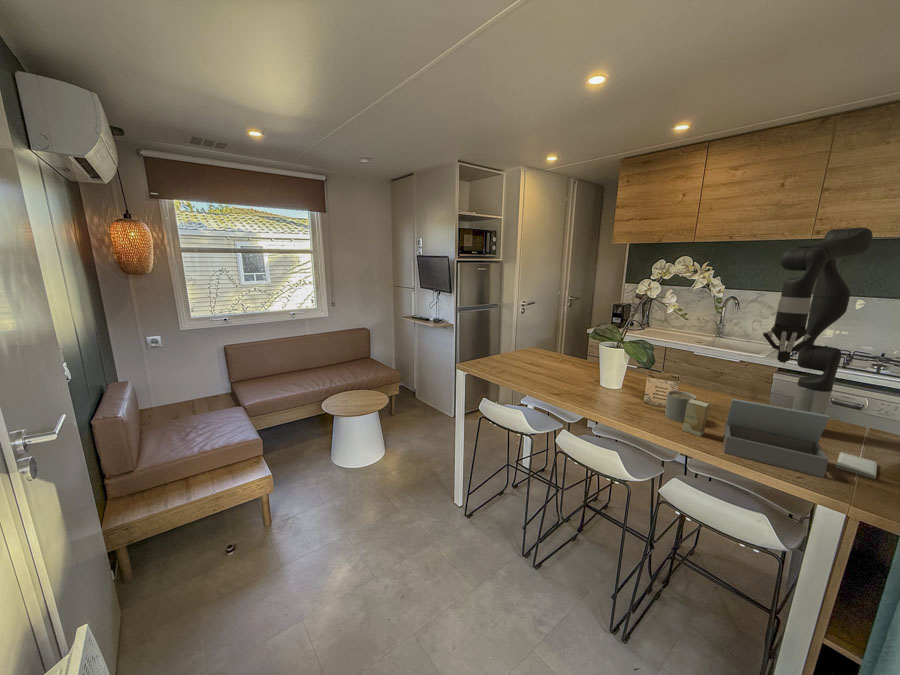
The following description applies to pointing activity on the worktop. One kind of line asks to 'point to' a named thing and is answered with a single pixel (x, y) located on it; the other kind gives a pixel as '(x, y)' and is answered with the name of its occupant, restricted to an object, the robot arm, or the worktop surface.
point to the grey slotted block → (775, 450)
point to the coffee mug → (677, 405)
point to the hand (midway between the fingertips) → (782, 362)
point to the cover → (777, 420)
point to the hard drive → (857, 465)
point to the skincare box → (695, 417)
